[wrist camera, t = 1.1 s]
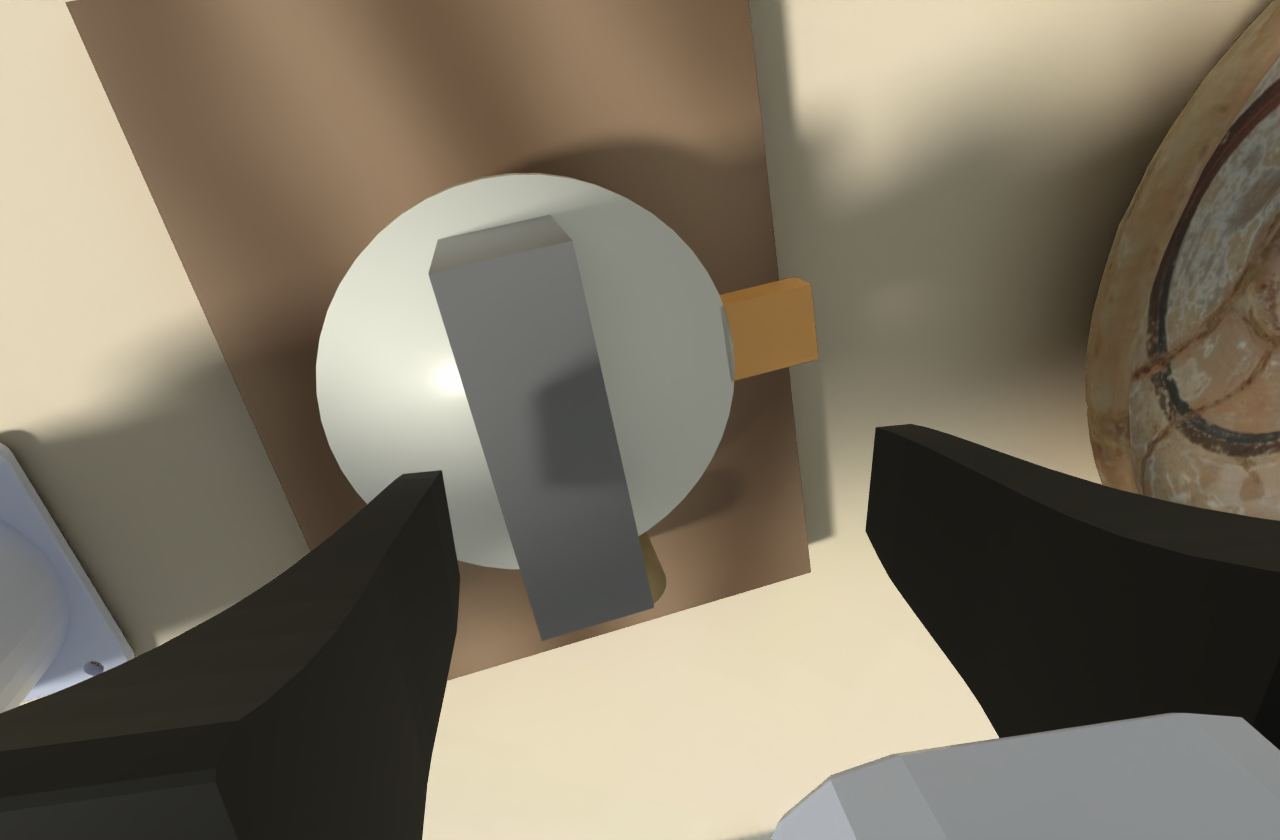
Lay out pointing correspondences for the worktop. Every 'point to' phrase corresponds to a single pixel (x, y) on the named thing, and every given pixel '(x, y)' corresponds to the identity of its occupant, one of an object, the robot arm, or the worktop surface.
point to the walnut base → (428, 163)
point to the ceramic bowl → (1199, 301)
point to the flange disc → (545, 377)
